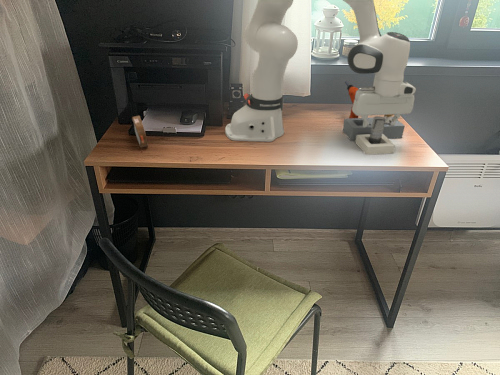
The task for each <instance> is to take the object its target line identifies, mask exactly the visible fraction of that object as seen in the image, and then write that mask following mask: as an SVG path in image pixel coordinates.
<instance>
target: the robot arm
mask: <svg viewBox="0 0 500 375" xmlns="http://www.w3.org/2000/svg"><path fill="white" fill-rule="evenodd" d="M342 1H343V2H345V3H346V4H348V5H349V7H350V8H351V9H352V10H353V12H354V16H355V21H356V24H357V30H358V34H359V41H358V43H356V44H355V45H353V47H352V48H351V49H350V51H349V52H348V55H347V65H348V67H349V68H350V70H351V71H353V73H355V74H356V73H357V74H365V75H367V74H369V75H370V74H374V78H373V85H372V86H366V87H365V86H362V87H359V88H358V90H357V91H356V94H355V100H354V103H352V106H353V107H352V106H351V109H352V111H353V113H354V114H355V115H357V116H358V117H360V118H362V119H363V127H369V122H368V121H367V120H366V118H369V116H384V115H391V114H393V116H392V117H393V118H392V120H389V123H388V124H389V125H390V126H395V122H396V121H397V120H398V121H399V119H400V117H401V115H409V114H410V113H411V112H413V109H414V103H415V93H416V91H417V89H416V86H413V85H412V84H411V83H409V82H407V81H404V80H405V76H404V75H405V74H404V73H405V70H406V68H407V65H408V61H409V57H410V51H411V50H410V49H411V42H410V41H411V40H410V39H409V37H407V36H406V35H404V34H402V33H400V32H394V31H389V32H386V33H384V34H383V35H382V34H381V32H380V27H379V24H378V23H379V22H378V18H377V12H376V7H375V1H374V0H342ZM293 2H294V0H257V3H256V6H255V9H254V12H253V13H252V17H251V19H250V21H249V22H248V23H247V25H246V26H245V29H244V32H243V35H244V40H245V42H246V44H247V45H248V46H249V48H251V50H253V51H255V52H256V53H258V55H259V56H258V62H257V66H256V69H255V70H253V73H252V76H251V77H252V78H251V79H252V80H251V94H248V93H247V92H246V93H244V94H243V98H244V100H245V102H246V103H245V105H244V106H242V107H241V108H239V109H238V110H236V111H235V112H234V113H233V115H232V117H231V121H230V123H228V124H226V126H225V130H224V133H225V135H226V137H227V138H228V139H229V140H232V141H239V142H240V141H241V142H244V141H245V142H266V143H267V142H269V143H271V142H274V141H275V140H276V139H277V138H280V137H282V136H283V135H284V134H285V129H284V125H283V108H284V95H283V92H284V91H283V89H284V88H283V87H284V77H285V73H286V70H287V66H288V64H289V61H290V59H292V58H293V57H294V56H295V55H296V52H297V50H298V47H299V46H298V45H299V44H298V43H299V42H298V41H299V40H298V37H297V35H296V34H295V33H294V32H293V31H292V30H291V29H290V28H289V27H287V26H286V25H284V24H282V22H283V20H284V17H285V15H286V13H287V11H288V10H289V9H290V8H291V7H292V5H293V4H294V3H293Z"/></svg>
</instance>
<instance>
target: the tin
mask: <svg viewBox="0 0 500 375" xmlns="http://www.w3.org/2000/svg"><path fill="white" fill-rule="evenodd" d="M131 120H132V122H133V126H134V132H135V133H134V134H135V135H136V136H135V137H136V140H137V142H138V145H139V147H140V148H145V147H149V144H148V138H147V135H146V134H147V133H146V130H145V126H144V124H143V122H142V119H141V116H140V115H136V116H132V117H131Z"/></svg>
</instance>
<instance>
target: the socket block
mask: <svg viewBox="0 0 500 375" xmlns="http://www.w3.org/2000/svg"><path fill="white" fill-rule="evenodd" d="M374 117H375V116H374ZM374 117H368V118H366V120H367V121H368V122H369V127H363V119H362V117H358V118H344V120H343V127H342V132H343V133H344V134H345V136H346V137H347V138H348V139H349V140H350V141H351V142H352V141H356V136H357V135H363V134H370V132H371V128H372V123H373V118H374ZM393 117H394V116H392V118H393ZM392 118H391V120H392ZM405 127H406V125H404V124H403V123H402V122H401V121H399V119H398V120H397V121H396V122H395V126H390V125H386V124H385V125H384V129H383V134H384V135H385V136H386V137H387V138H388V139H389V140H390V139H391V140H393V139H394V140H395V139H403V135H404V131H405Z"/></svg>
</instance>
